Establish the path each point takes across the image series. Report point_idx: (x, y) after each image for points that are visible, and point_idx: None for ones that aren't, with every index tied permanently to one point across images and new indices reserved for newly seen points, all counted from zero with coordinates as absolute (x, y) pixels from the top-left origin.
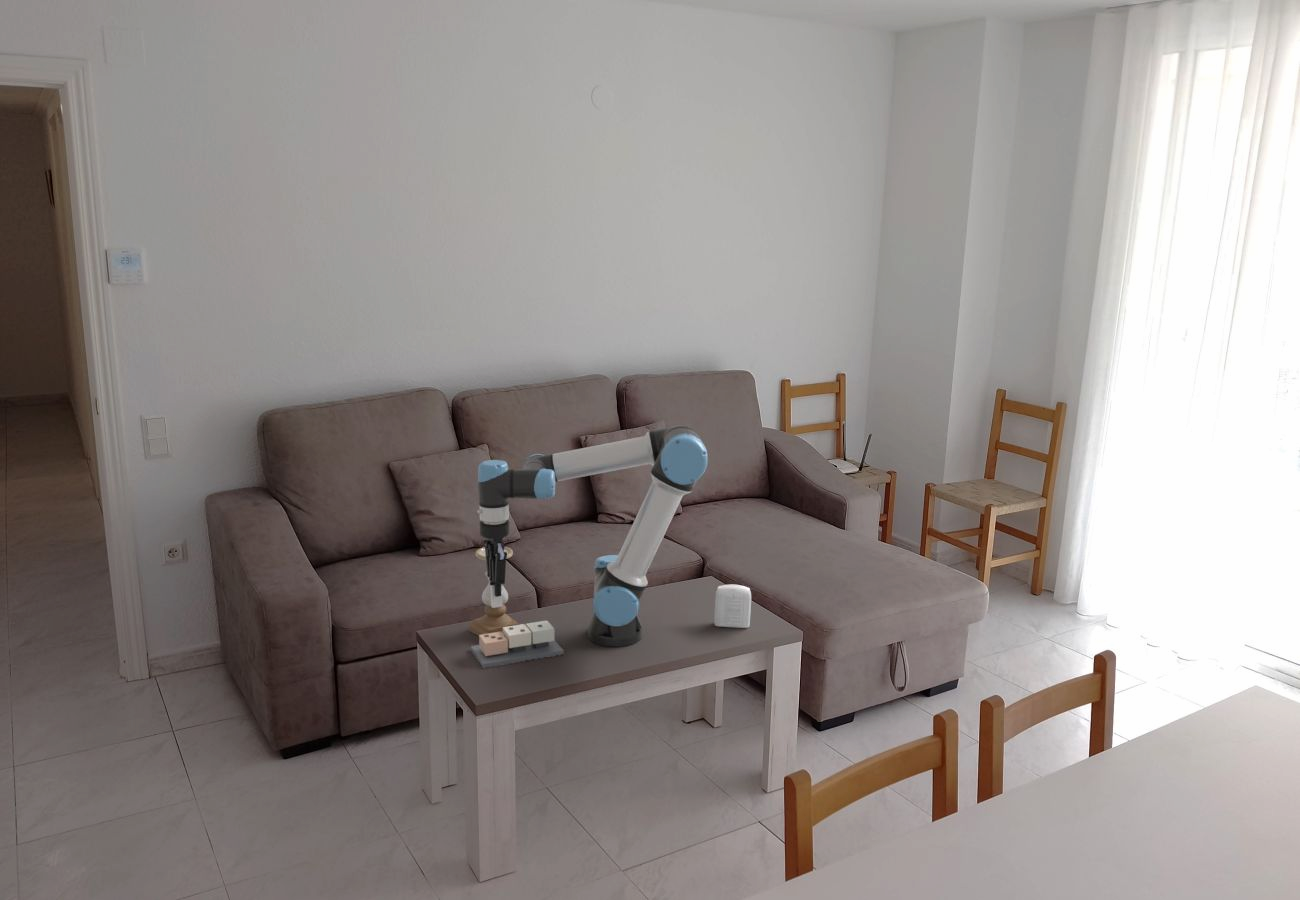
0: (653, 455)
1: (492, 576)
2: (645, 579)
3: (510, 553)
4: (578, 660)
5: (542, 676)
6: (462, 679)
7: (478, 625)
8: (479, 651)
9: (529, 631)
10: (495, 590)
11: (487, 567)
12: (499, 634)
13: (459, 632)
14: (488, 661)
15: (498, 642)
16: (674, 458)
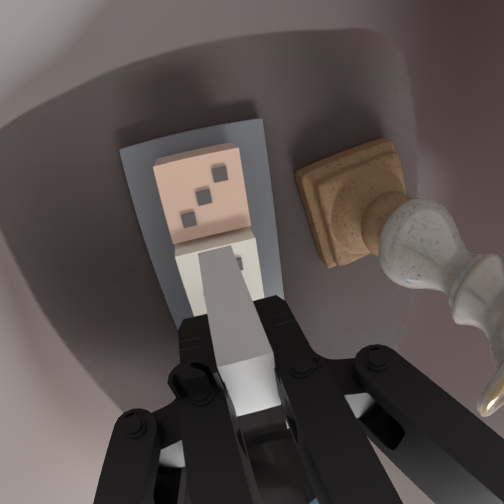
0: None
1: (225, 448)
2: None
3: (488, 415)
4: (152, 359)
5: (73, 292)
6: (66, 93)
7: (368, 160)
8: (214, 140)
9: (202, 314)
10: (191, 351)
11: (428, 413)
12: (225, 219)
13: (379, 110)
14: (135, 165)
15: (164, 212)
16: None
